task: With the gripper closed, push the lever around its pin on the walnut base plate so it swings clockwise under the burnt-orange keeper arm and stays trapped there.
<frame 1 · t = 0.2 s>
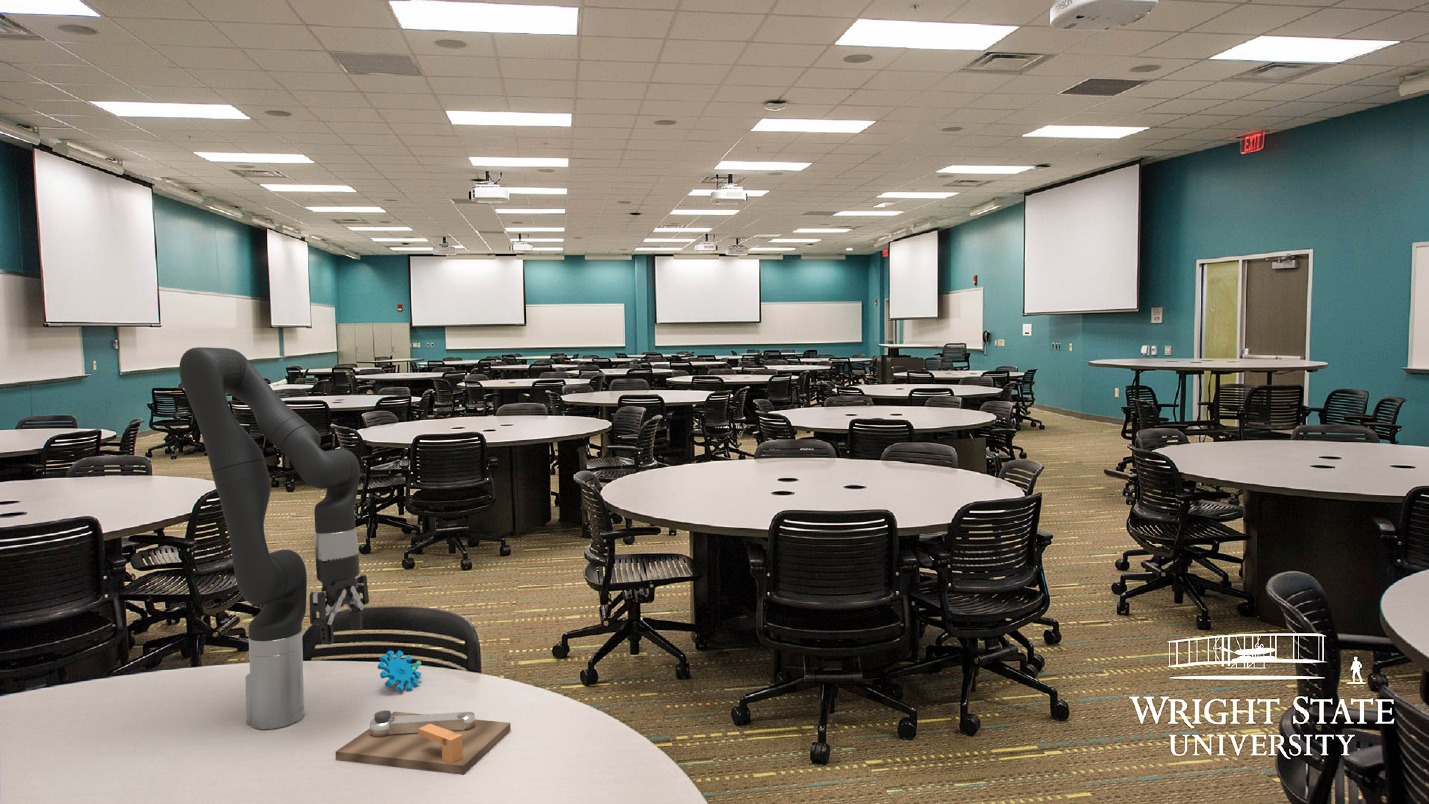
hand: (342, 636, 154), 17 cm above the table, tool pointing down, fingers open, 8 cm apart
keeper: (438, 761, 140), resting on base plate
lever: (423, 723, 149), point 3 cm above the table, hinge at 20.0°
gear: (401, 687, 174), on the table
base plate: (426, 744, 146), on the table
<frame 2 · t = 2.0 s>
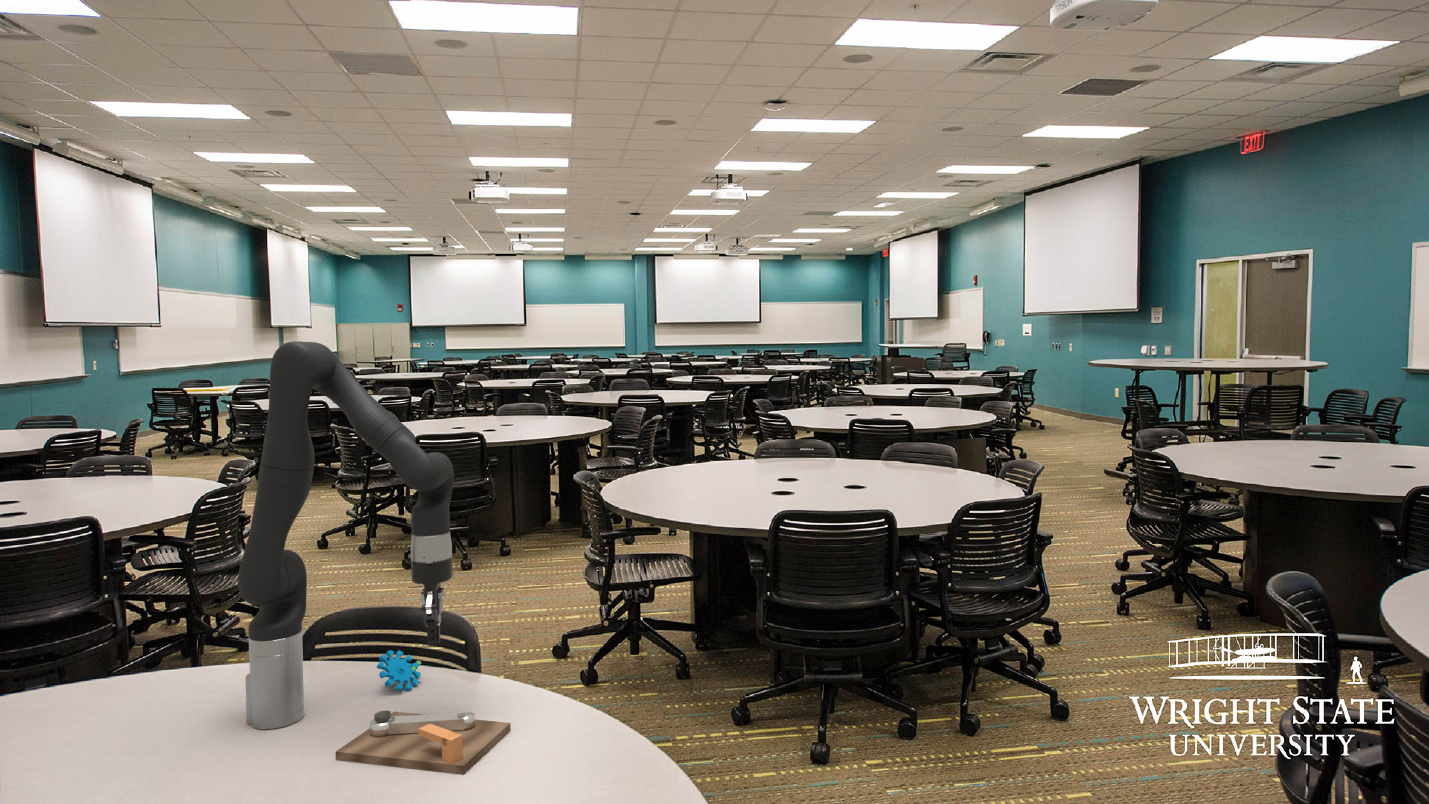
hand: (433, 644, 155), 16 cm above the table, tool pointing down, fingers closed
nothing on the table moved.
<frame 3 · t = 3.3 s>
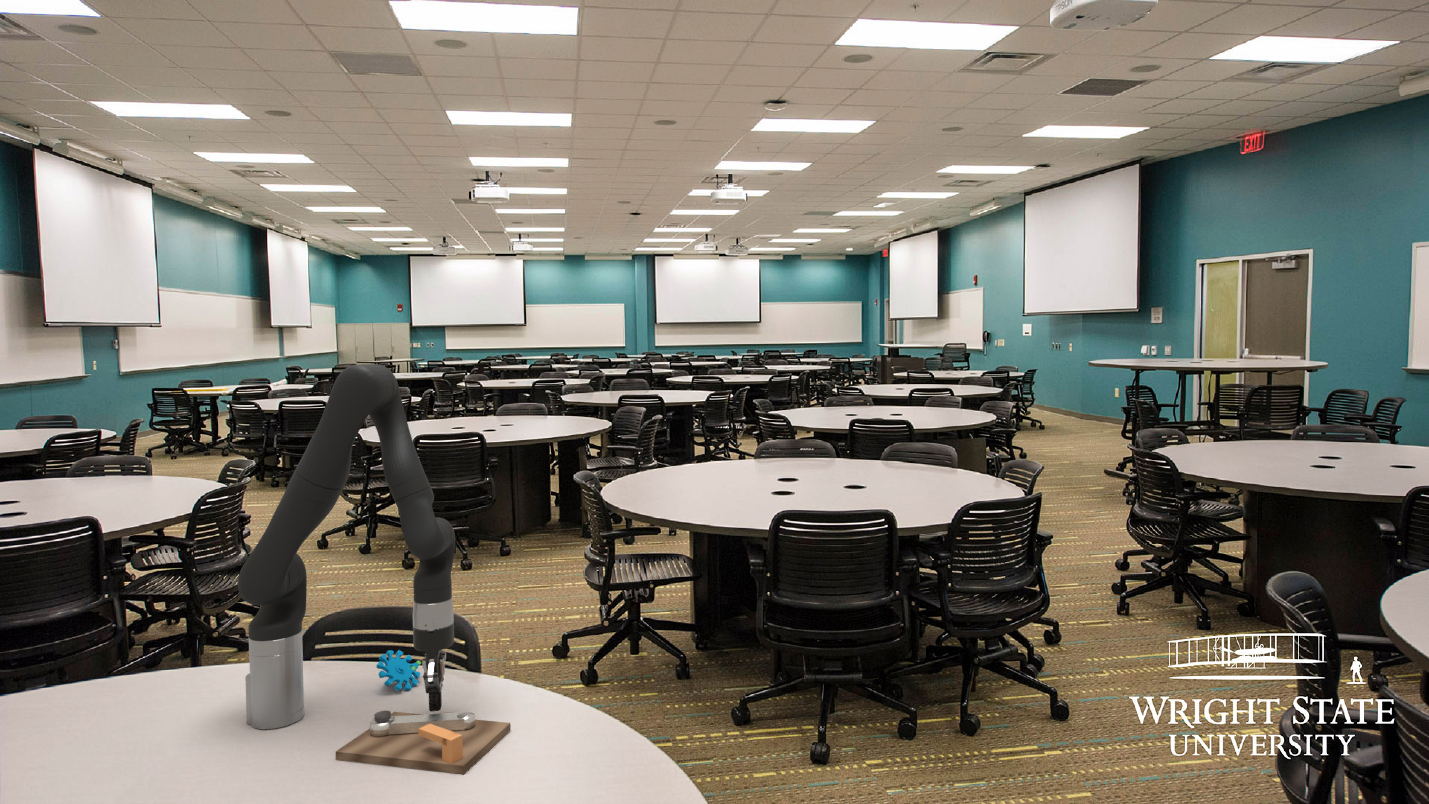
hand: (435, 709, 156), 3 cm above the table, tool pointing down, fingers closed
nothing on the table moved.
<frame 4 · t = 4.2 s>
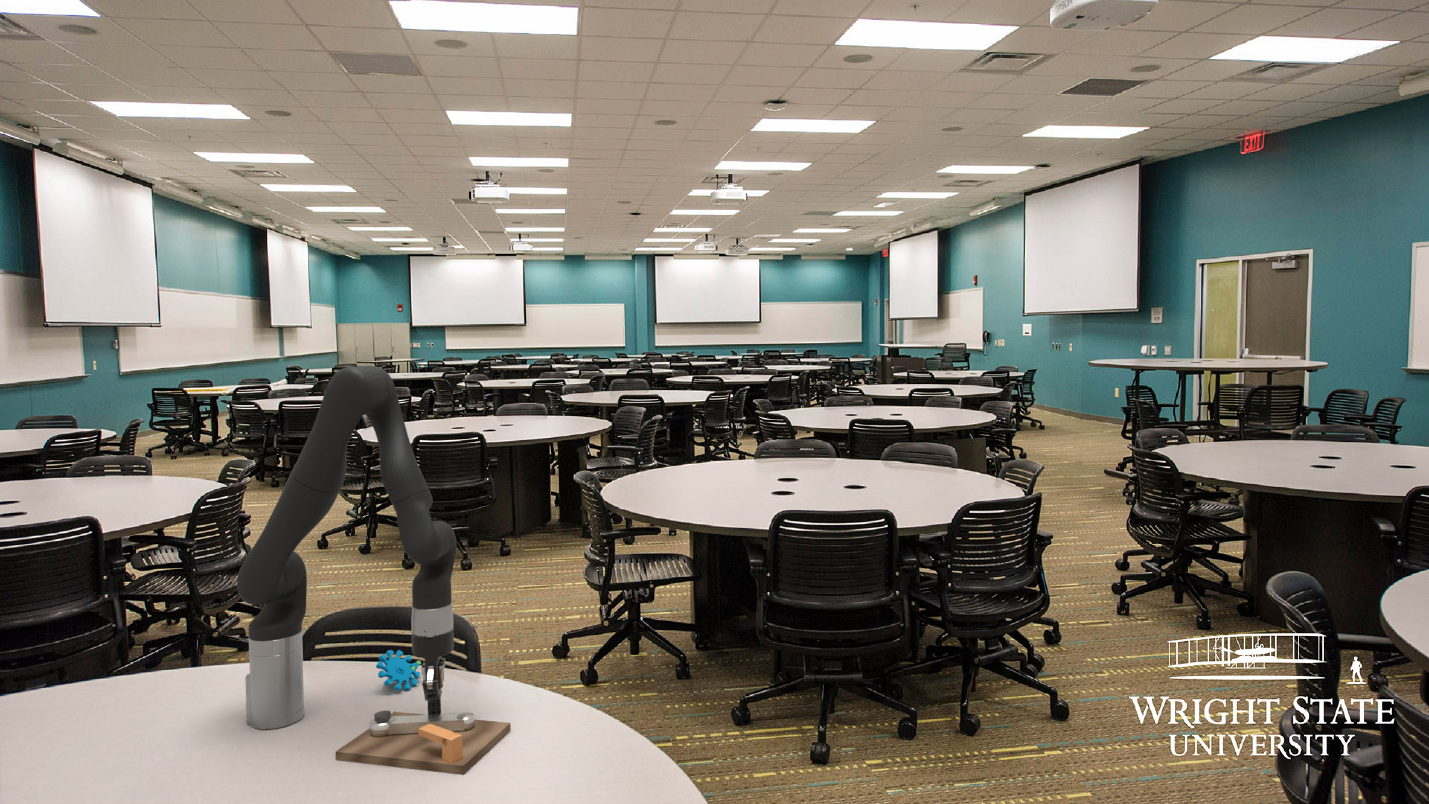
hand: (434, 716, 152), 3 cm above the table, tool pointing down, fingers closed
lever: (422, 723, 149), point 3 cm above the table, hinge at 18.9°, touching gripper
everything else where it was.
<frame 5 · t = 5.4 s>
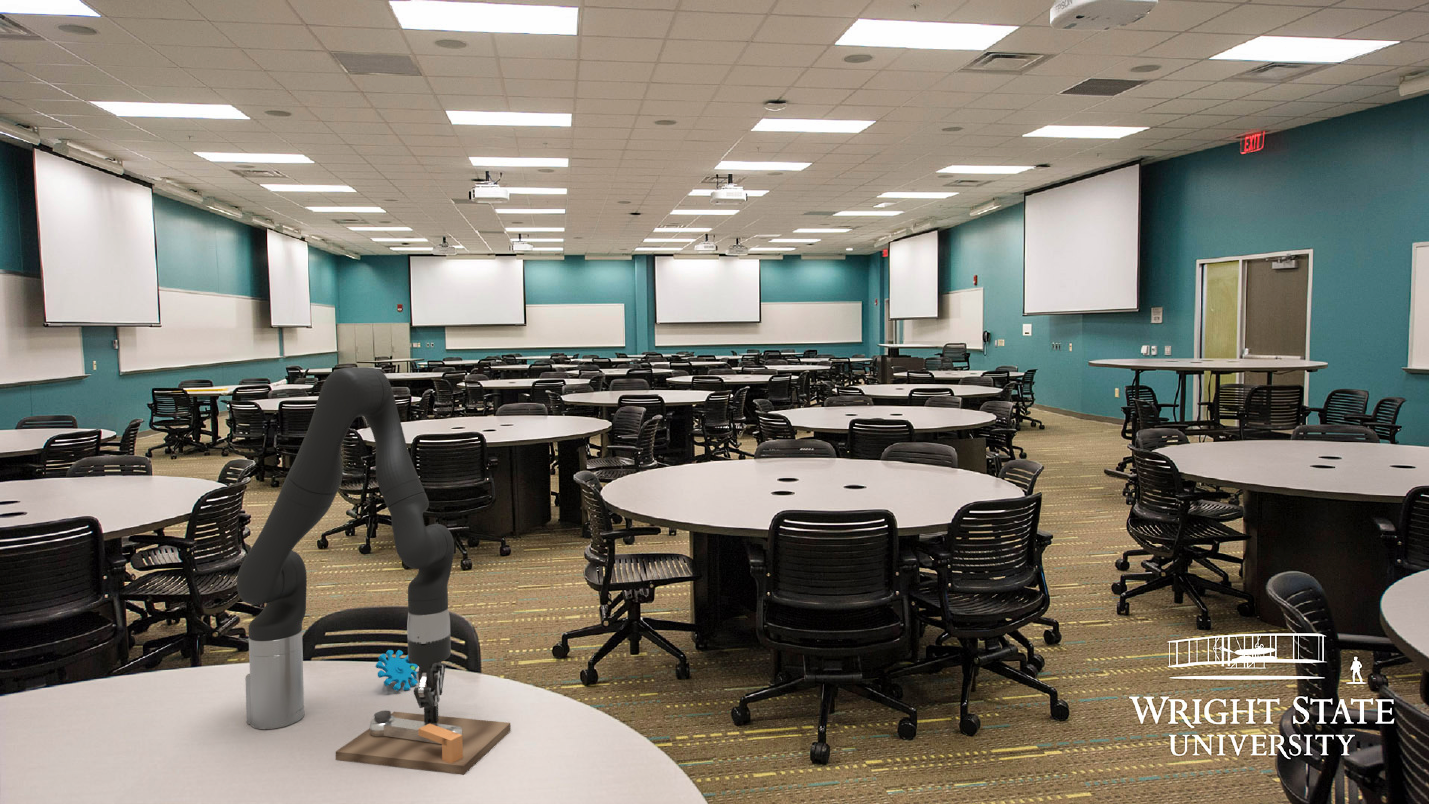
hand: (431, 724, 149), 3 cm above the table, tool pointing down, fingers closed
lever: (415, 730, 146), point 3 cm above the table, hinge at -3.6°, touching gripper
everything else where it was.
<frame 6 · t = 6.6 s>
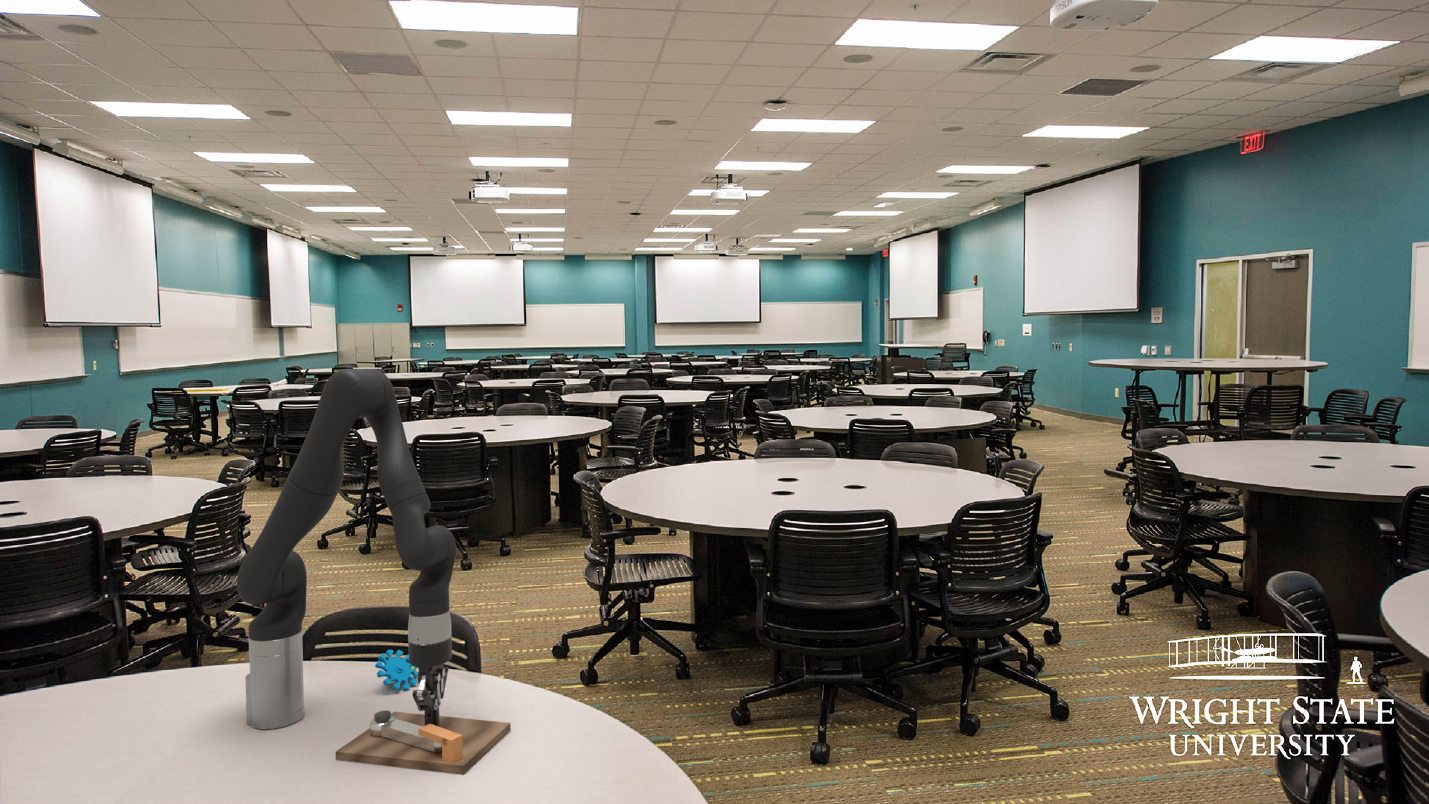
hand: (432, 728, 147), 3 cm above the table, tool pointing down, fingers closed
lever: (410, 733, 145), point 3 cm above the table, hinge at -15.1°
everything else where it was.
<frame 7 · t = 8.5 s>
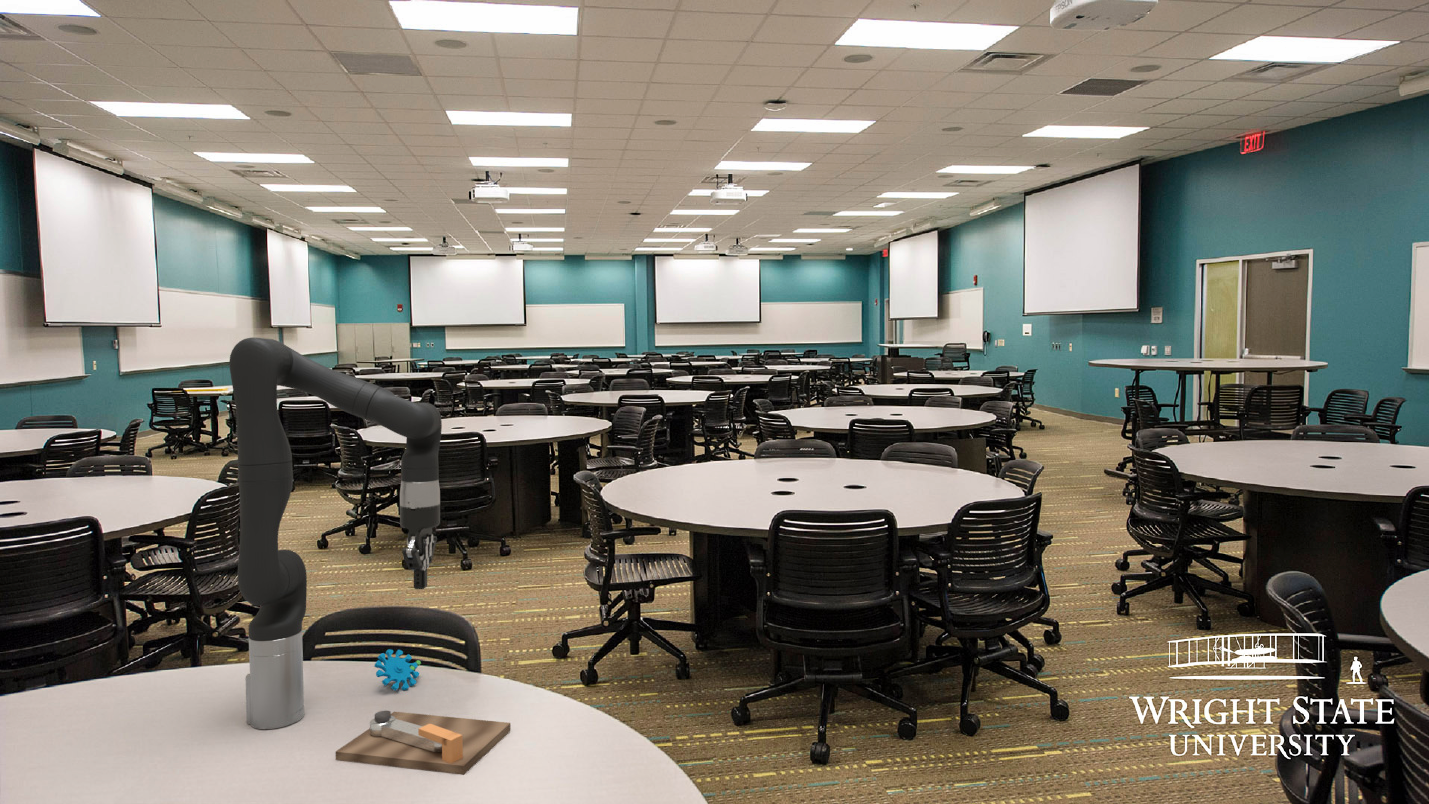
hand: (420, 588, 160), 25 cm above the table, tool pointing down, fingers closed
nothing on the table moved.
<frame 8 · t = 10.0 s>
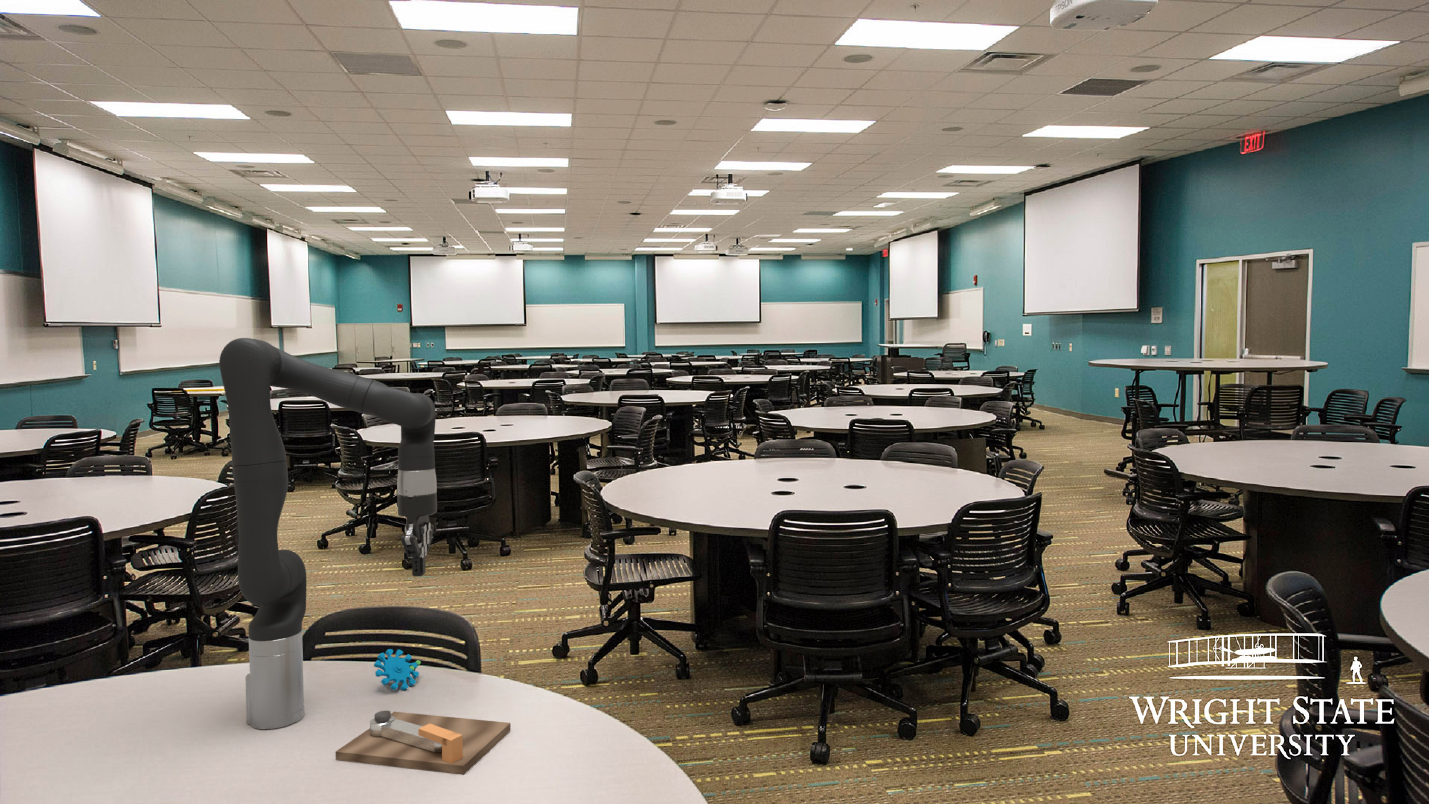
hand: (418, 575, 163), 27 cm above the table, tool pointing down, fingers closed
at the end: lever at -15° (first picture: +20°); gear moved 1.2 cm from its start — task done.
